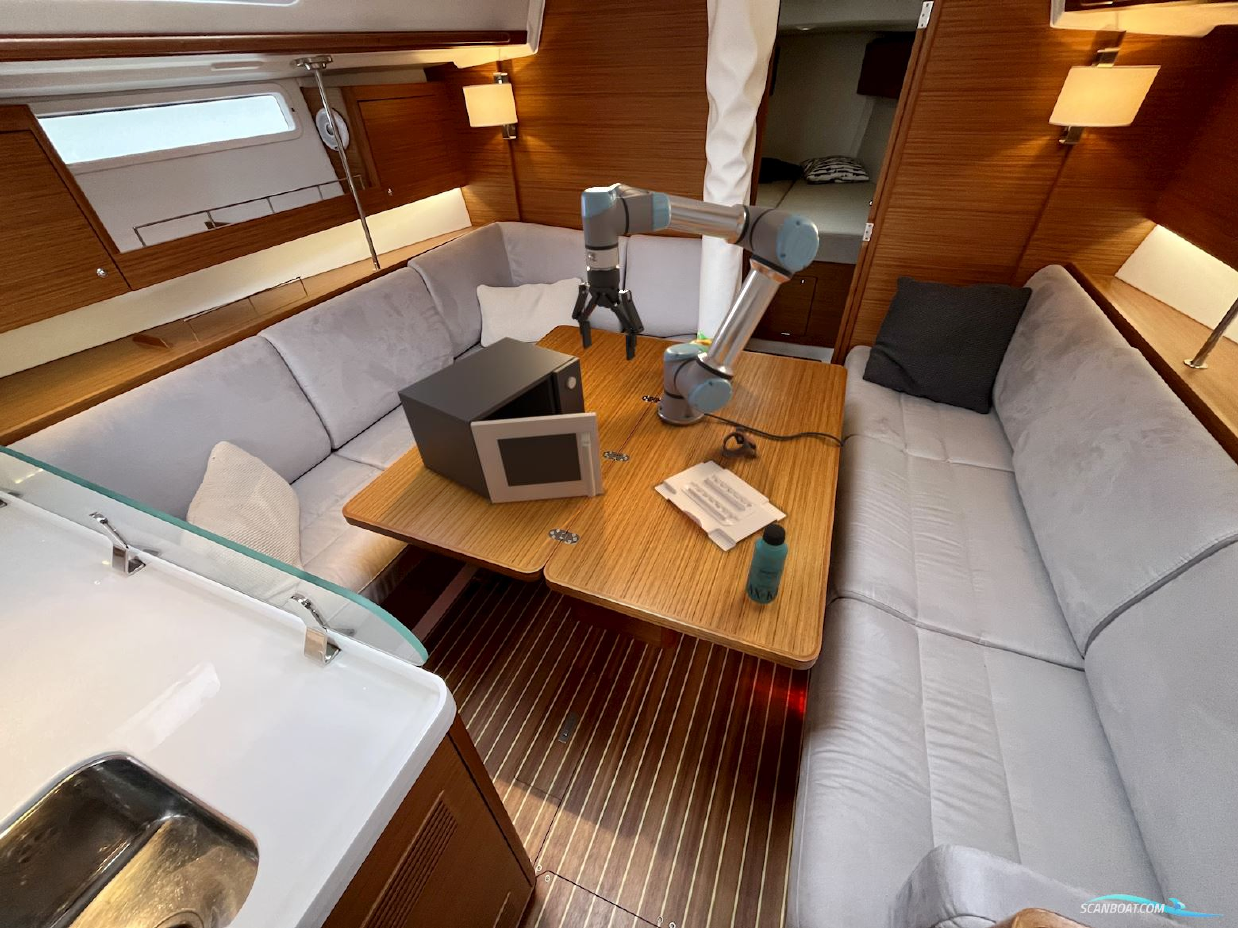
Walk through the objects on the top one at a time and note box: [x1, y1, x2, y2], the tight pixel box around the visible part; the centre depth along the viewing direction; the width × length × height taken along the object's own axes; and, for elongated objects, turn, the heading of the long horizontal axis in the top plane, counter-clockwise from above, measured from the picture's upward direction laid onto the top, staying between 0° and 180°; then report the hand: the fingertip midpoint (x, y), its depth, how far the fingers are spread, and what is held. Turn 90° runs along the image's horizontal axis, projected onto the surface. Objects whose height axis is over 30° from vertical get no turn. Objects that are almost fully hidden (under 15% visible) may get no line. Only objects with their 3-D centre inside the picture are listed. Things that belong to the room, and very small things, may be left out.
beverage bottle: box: [745, 523, 789, 605], centre depth 98 cm, size 6×7×20 cm
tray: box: [654, 460, 787, 552], centre depth 127 cm, size 20×28×4 cm
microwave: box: [396, 336, 586, 501], centre depth 144 cm, size 30×40×25 cm
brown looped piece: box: [721, 426, 758, 459], centre depth 142 cm, size 12×10×8 cm
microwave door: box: [471, 411, 604, 504], centre depth 123 cm, size 8×30×25 cm, turn 94°
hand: (608, 352), depth 126 cm, fingers open, 13 cm apart
